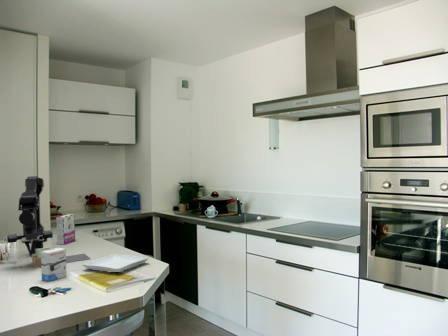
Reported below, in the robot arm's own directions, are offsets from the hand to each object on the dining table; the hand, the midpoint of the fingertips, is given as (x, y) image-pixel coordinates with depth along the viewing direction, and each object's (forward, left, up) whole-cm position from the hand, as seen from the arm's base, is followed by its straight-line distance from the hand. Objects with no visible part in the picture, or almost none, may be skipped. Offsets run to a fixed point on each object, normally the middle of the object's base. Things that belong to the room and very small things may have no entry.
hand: (30, 254), depth 178 cm
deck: (0, +8, -5) cm, 9 cm away
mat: (0, +20, -5) cm, 20 cm away
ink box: (+29, +6, -5) cm, 30 cm away
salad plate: (+28, +32, -6) cm, 43 cm away
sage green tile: (0, +6, -1) cm, 6 cm away
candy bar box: (-44, +24, -5) cm, 50 cm away
